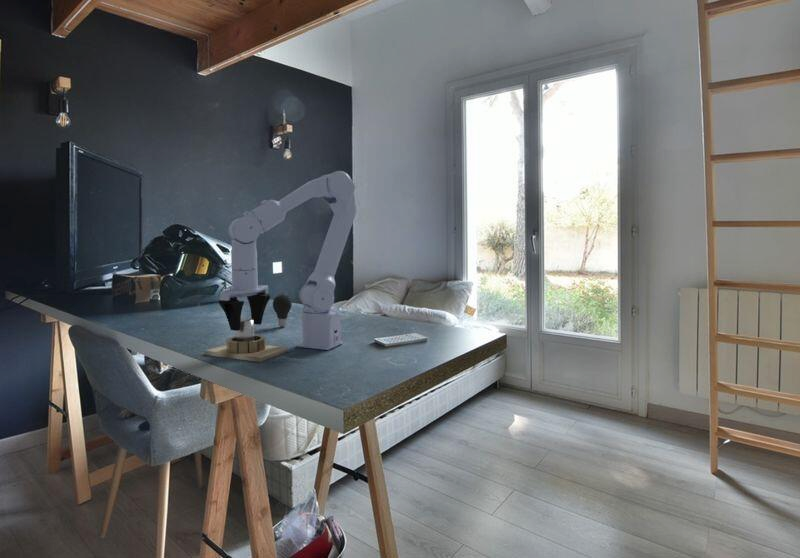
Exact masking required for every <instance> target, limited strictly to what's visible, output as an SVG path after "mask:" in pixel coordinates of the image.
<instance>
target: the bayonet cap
mask: <svg viewBox="0 0 800 558" xmlns="http://www.w3.org/2000/svg"><path fill="white" fill-rule="evenodd" d="M235 335H236V337H237V341H236V342H250V341H254V335H255V324H254V319H252V318H249V317H245V318H241V325H240V330H238V331H236V334H235Z"/></svg>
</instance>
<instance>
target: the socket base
mask: <svg viewBox="0 0 800 558" xmlns="http://www.w3.org/2000/svg"><path fill="white" fill-rule="evenodd" d="M266 340H267V339H266V336H264V335H260V334H254V341H250V342H236V341H237V337H236V336H230V337H228V338H227V339H226V343H225V344H221V345H218V346H215V347H211V348H208V349H204V350H203V351H204V355H205V356H211V357H219V358H220V357H221V358H229V359H235V360H241V361H249V362H257V363H258V362H259V363H262V362H265V361H267V360H270V359H271V358H275V357H277V356H280V355H282V354H285V353H288V347H286V346H285V347H284V346H278V345H276V346H275V345H268V344H267V343H266V342H267V341H266Z"/></svg>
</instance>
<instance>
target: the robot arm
mask: <svg viewBox="0 0 800 558" xmlns="http://www.w3.org/2000/svg"><path fill="white" fill-rule="evenodd" d="M355 191H356V185H355V183H354V181H353V180H352V178H351V176H350V175H349V174H348V173H347V172H345V171H343V170H335V171H334V172H332V173H328V174H324V175H321V176H320V177H318V178H315V179H312V180H310V181H307V182H306V183H305V184H303V185H300V187H298V188H296V189H295V190H294V191H292V192H291V193H289V194H288V195H286V196H284V197H283V198H281V199H280V200H274V199H268V200H267V199H264V200H262V201H260V205H259V206H258V207H256V208H254V209H251V211H245V212H243V213H242V215H243V216H242V217H240V218H237V219H234V220H233V221H232V222H231V223H230V225H229V227H228V230H227V233H228V236H229V238H230V239H231V243H230V244H231V245H230V246H231V249H230V256H231V257H230V259H231V285H232V286H231V287H229V289H225V290H222V291H219V299H218V305H219V306H220V307H221V309H222V310H223V312H224V315H225V316H226V319H227V321H228V322H227V323H228V325H229V328H230V331H238V330H240V325H241V319H242V318H241V317H242V311H243V307H244V304H245V300H239V299H240V298H245V297H246V298H247V301H248V303H249V304H248V305H249V309H250V315H251V319H254V325H259V326H260V325H262V322H263V317H264V313H265V311H266V307H267V305H268V303H269V301H270V299H271V295H270V294H269V285H267V284H266V285H265V284H264V285H262V284H261V285H259V281H258V280H259V278H258V277H259V276H258V275H259V274H258V273H259V271H258V249H257V239H258V238H259V237H260V235H261V234H262V235H263V234H264V233H266V232H267V231H269V230H270V229H272V228H274V227H275V226H277V225H279V224H280V223H282V222H283V221H285V218H286V214H287V212H289V211H291V210H292V209H295V208H296V207H298V206H299V205H302V204H304V203H305V202H307V201H309V200H310V199H312V198H322V199H323V200H324V201H325V202H326V203H327V204H328V205H329V207H330V208H331V211H332V212H333V215H332V219H331V221H330V225H329V227H328V230H327V233H326V235H325V236H326V237H325V239H324V241H323V244H322V248H321V251H320V254H319V256H318V259H317V261H316V265H315V267H314V270H313V272H312V273H311V274H310V275H309V276H308V278H307V281H306V283H305V284H304V285H303V286H302V287H301V289H300V291H299V294H298V296H299V301H300V302H301V303H302V304H303V306H302V309H301V313H302V315H301V318H302V320H301V321H302V322H301V323H302V325H301V326H302V328H301V329H302V331H301V332H302V342H299V343H296V344H295V347H297V348H307V349H308V348H309V349H313V350H314V349H315V350H324V351H328V350H331V349H333V348H336V347H338V346H339V345H342V344H343V343H344V342H343V341H342V319H341V318H342V317H341V315H340V314H339V312H334V311H332V307H333V305H334V303H335V289H336V285H337V284H336V280H335V277H336V276H335V275H336V273H337V269H338V267H339V264H340V261H341V259H342V255H343V254H344V253H343V251H344V249H345V247H346V243H347V241H348V237H349V235H350V231H351V229H352V226H353V223H354V221H355V217H356V215H357V205H356V200H355V198H356V197H355Z"/></svg>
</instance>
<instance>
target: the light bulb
mask: <svg viewBox="0 0 800 558" xmlns="http://www.w3.org/2000/svg"><path fill="white" fill-rule="evenodd" d="M292 304H293V303H292V300H291V298H290V296H287V295H286V294H279V295H277V296H275V297H274V299H273V300H272V308H273V310H274V312H275V313H276V318H277V321H278V326H280V328H285V327H286V326H287V323H288V322H287V320H288V319H287V318H288V316H289V315H288V314H289V313H290V311H291V309H292Z"/></svg>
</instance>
